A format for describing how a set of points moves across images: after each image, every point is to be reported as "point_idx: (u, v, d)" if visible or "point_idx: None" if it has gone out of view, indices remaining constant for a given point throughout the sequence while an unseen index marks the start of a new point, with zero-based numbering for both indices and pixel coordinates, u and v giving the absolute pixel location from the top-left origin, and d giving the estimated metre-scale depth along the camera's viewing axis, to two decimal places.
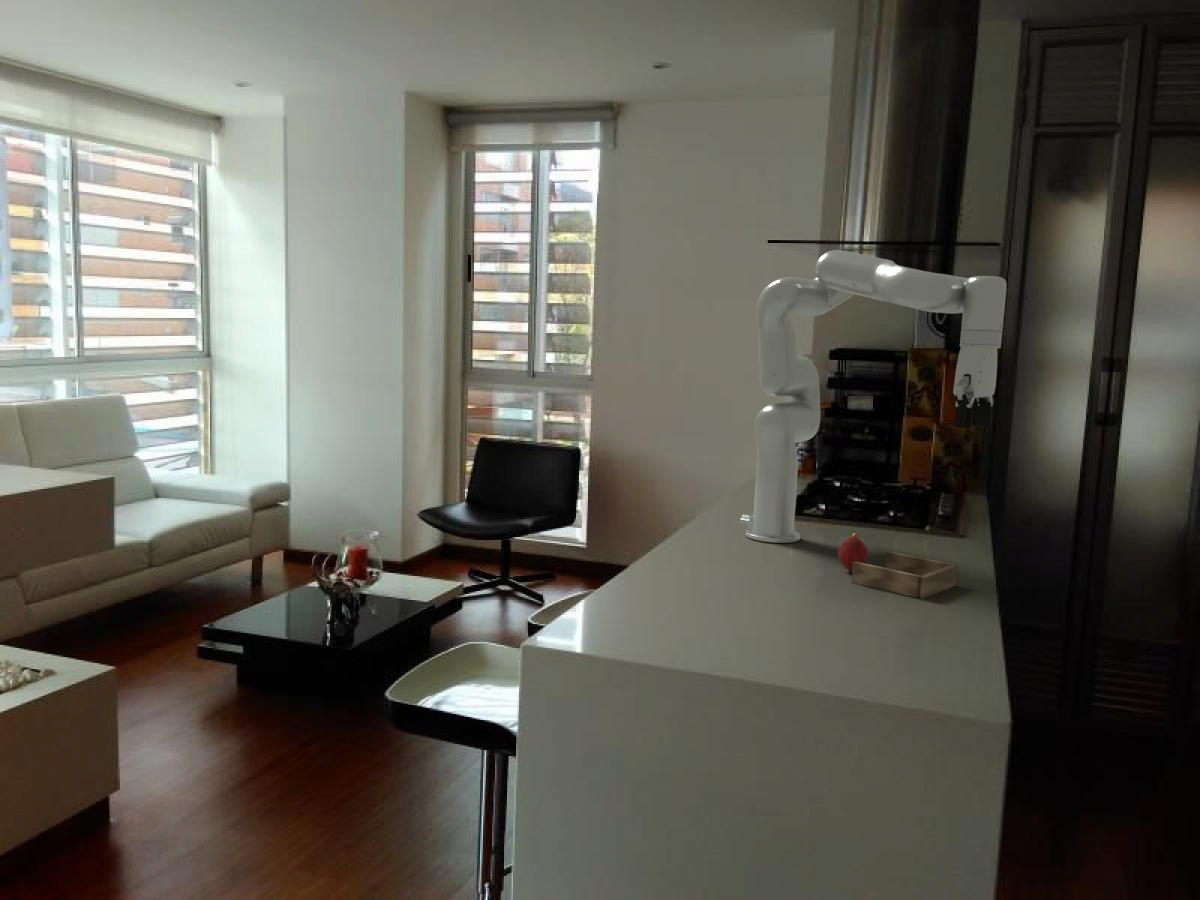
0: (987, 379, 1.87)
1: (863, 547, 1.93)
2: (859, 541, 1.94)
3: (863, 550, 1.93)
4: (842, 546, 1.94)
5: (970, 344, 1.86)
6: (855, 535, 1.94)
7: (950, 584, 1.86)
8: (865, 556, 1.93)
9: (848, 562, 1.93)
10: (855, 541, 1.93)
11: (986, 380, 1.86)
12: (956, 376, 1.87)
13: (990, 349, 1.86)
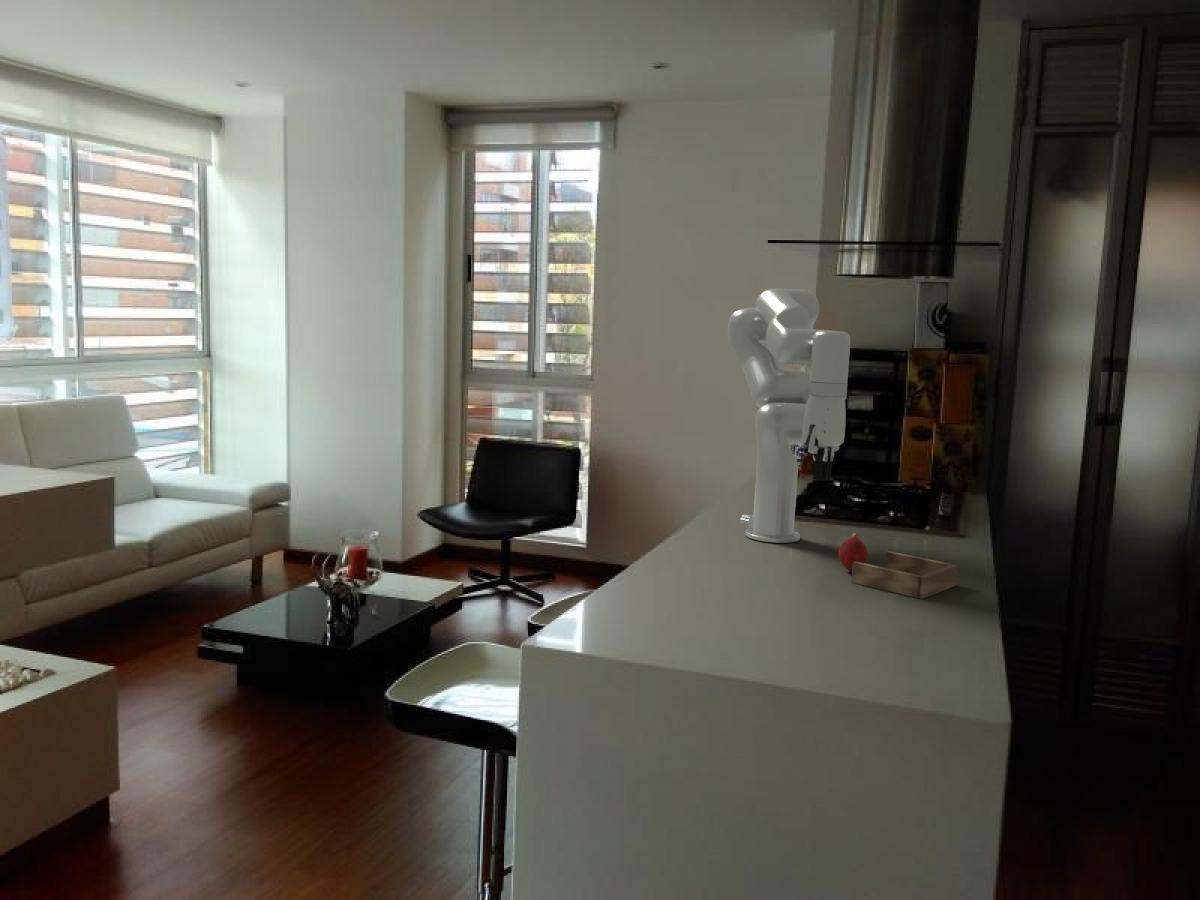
0: (833, 429, 1.95)
1: (863, 547, 1.93)
2: (859, 541, 1.94)
3: (863, 550, 1.93)
4: (842, 546, 1.94)
5: (816, 396, 1.94)
6: (855, 535, 1.94)
7: (950, 584, 1.86)
8: (865, 556, 1.93)
9: (848, 562, 1.93)
10: (855, 541, 1.93)
11: (831, 429, 1.95)
12: (803, 426, 1.95)
13: (835, 400, 1.94)
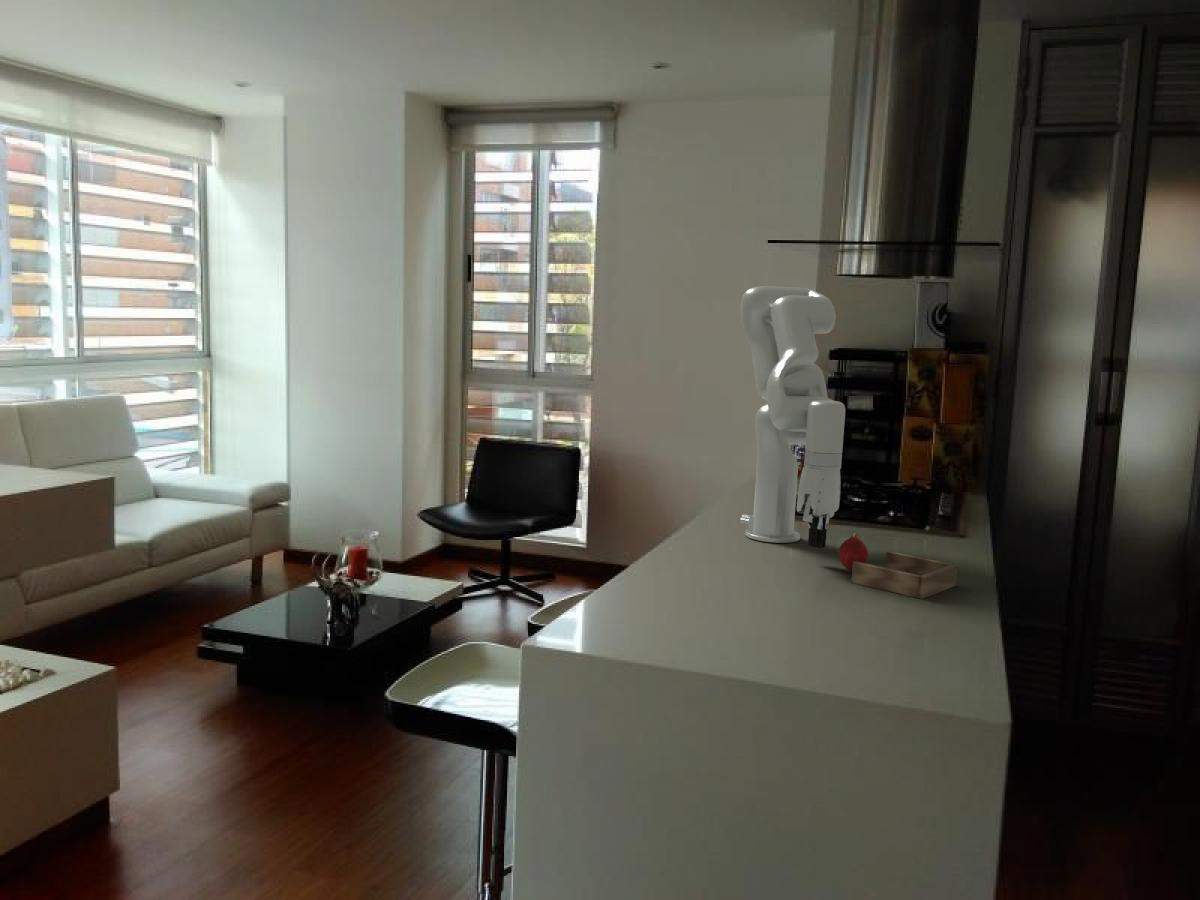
0: (828, 498, 1.97)
1: (863, 547, 1.93)
2: (859, 541, 1.94)
3: (863, 550, 1.93)
4: (842, 546, 1.94)
5: (811, 465, 1.96)
6: (855, 535, 1.94)
7: (950, 584, 1.86)
8: (865, 556, 1.93)
9: (848, 562, 1.93)
10: (855, 541, 1.93)
11: (826, 498, 1.97)
12: (798, 495, 1.97)
13: (830, 470, 1.96)
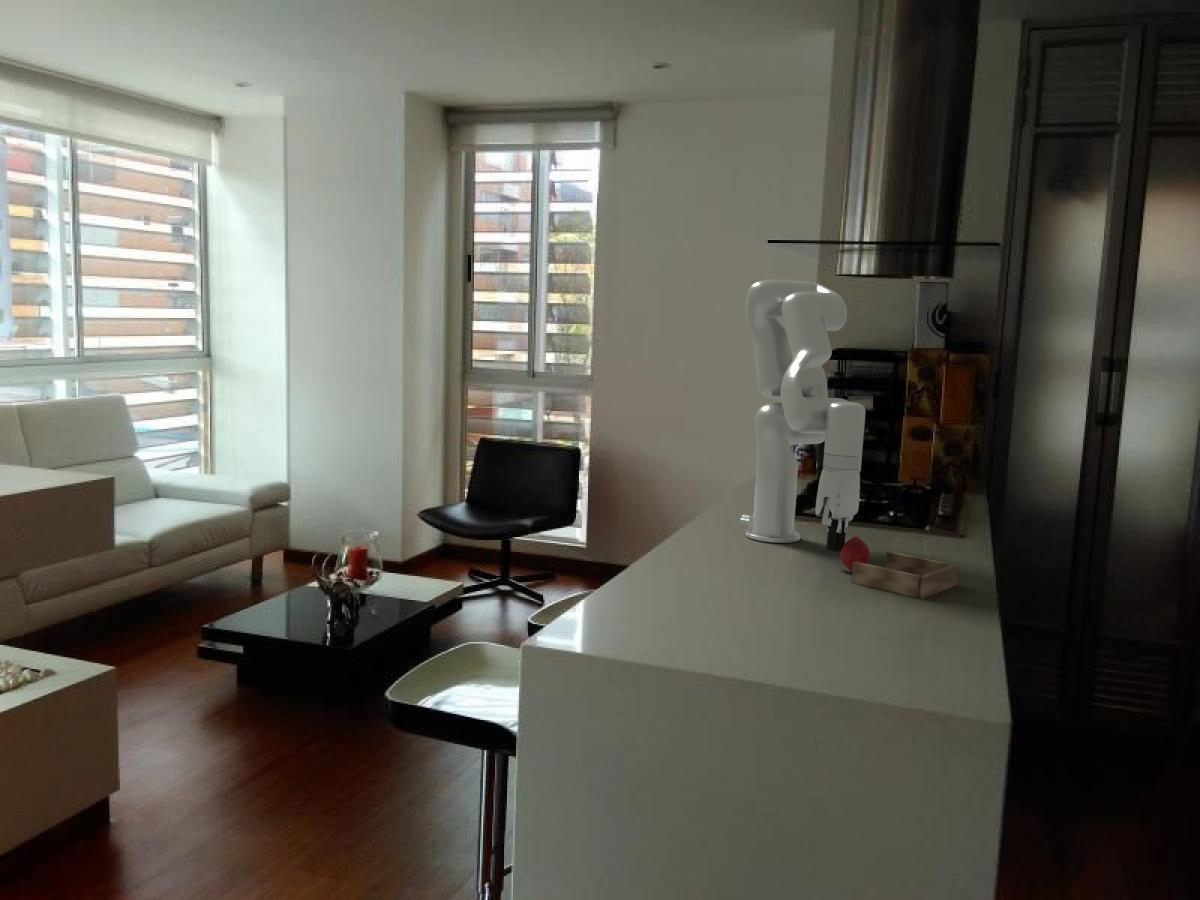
0: (847, 501, 1.94)
1: (865, 548, 1.93)
2: (861, 541, 1.93)
3: (865, 551, 1.92)
4: (844, 546, 1.94)
5: (830, 468, 1.93)
6: (857, 535, 1.94)
7: (950, 584, 1.86)
8: (867, 556, 1.93)
9: (850, 562, 1.93)
10: (857, 542, 1.93)
11: (845, 502, 1.94)
12: (817, 498, 1.94)
13: (849, 473, 1.93)
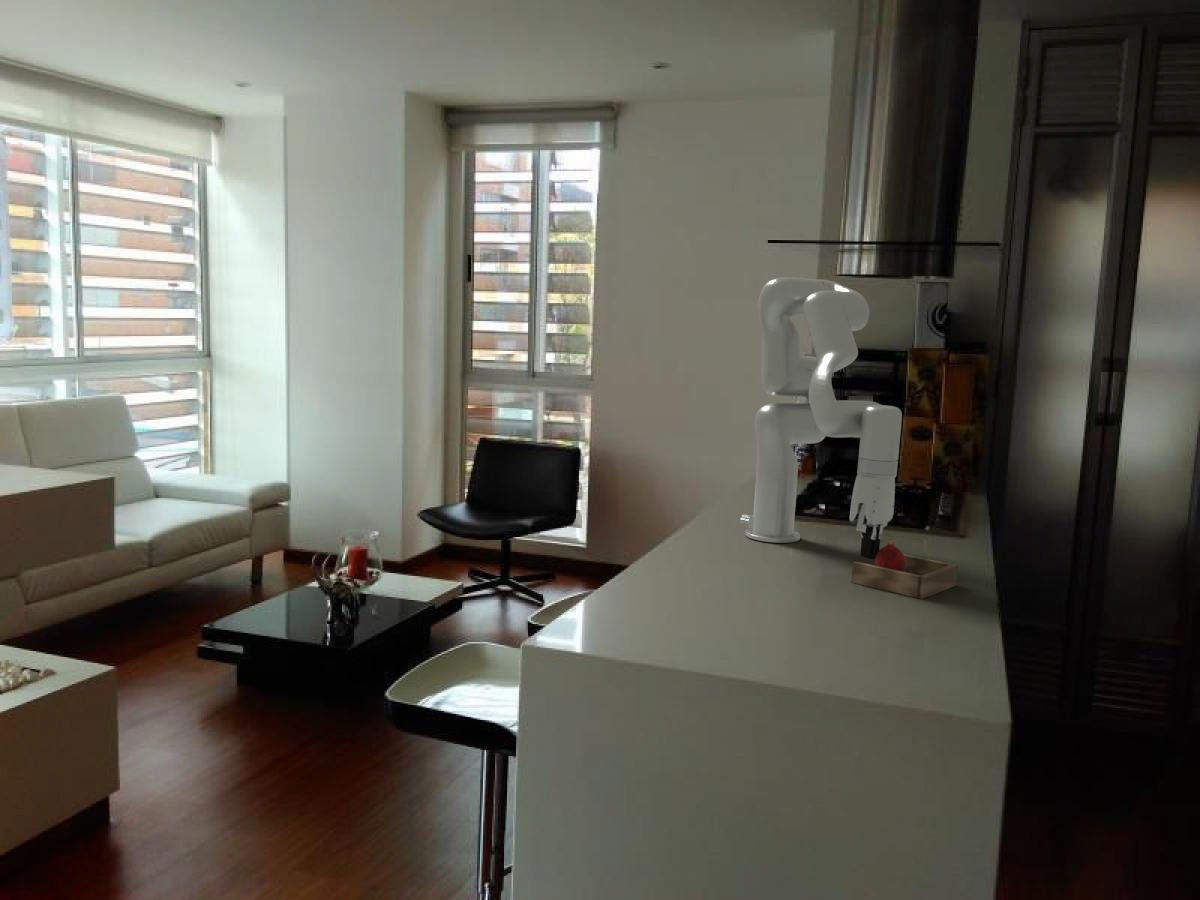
0: (882, 507, 1.89)
1: (900, 555, 1.88)
2: (896, 549, 1.88)
3: (900, 558, 1.87)
4: (878, 554, 1.89)
5: (865, 473, 1.88)
6: (892, 543, 1.89)
7: (950, 584, 1.86)
8: (902, 564, 1.87)
9: None
10: (891, 549, 1.88)
11: (881, 508, 1.88)
12: (852, 504, 1.89)
13: (885, 478, 1.88)
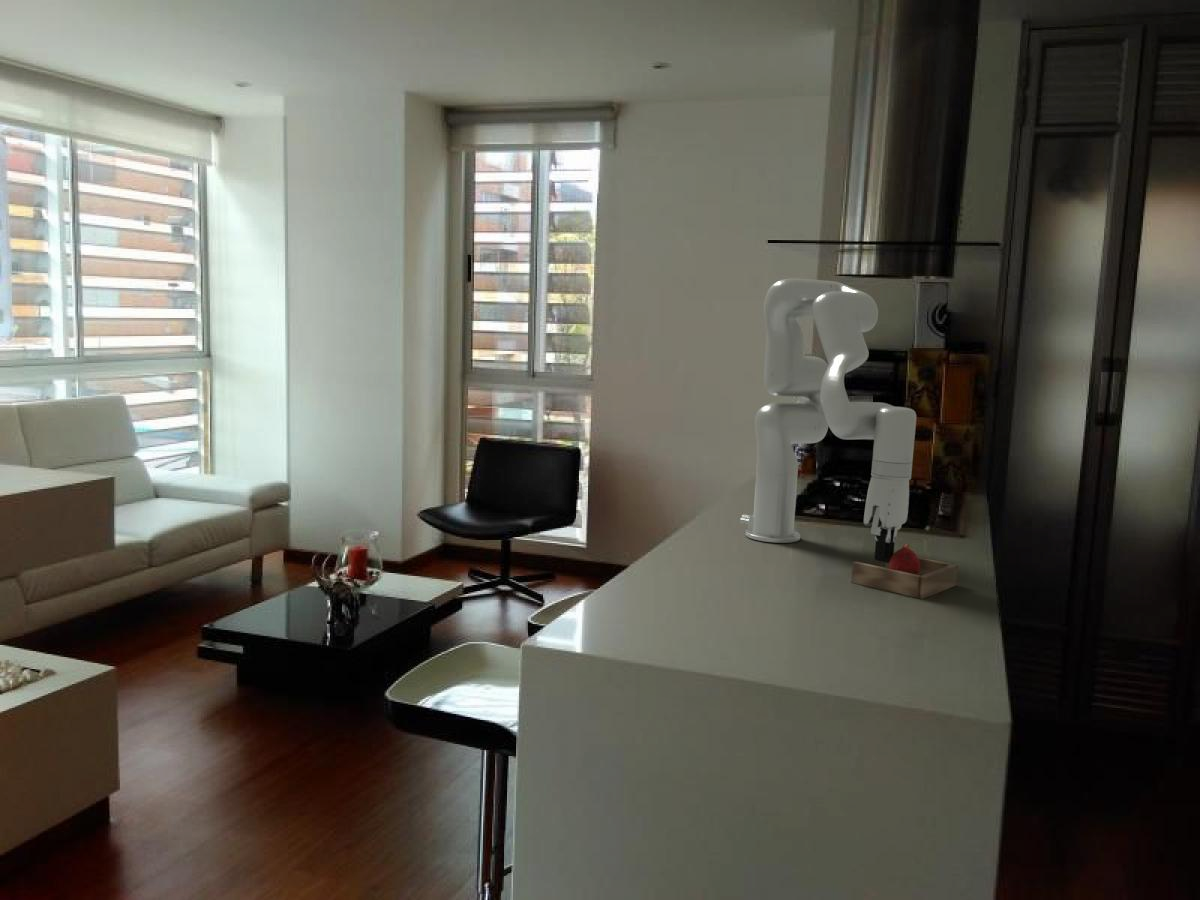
0: (897, 510, 1.87)
1: (915, 559, 1.85)
2: (911, 552, 1.86)
3: (915, 562, 1.85)
4: (893, 557, 1.87)
5: (880, 475, 1.86)
6: (907, 546, 1.87)
7: (950, 584, 1.86)
8: (917, 568, 1.85)
9: None
10: (906, 552, 1.86)
11: (895, 510, 1.86)
12: (866, 506, 1.87)
13: (900, 480, 1.86)
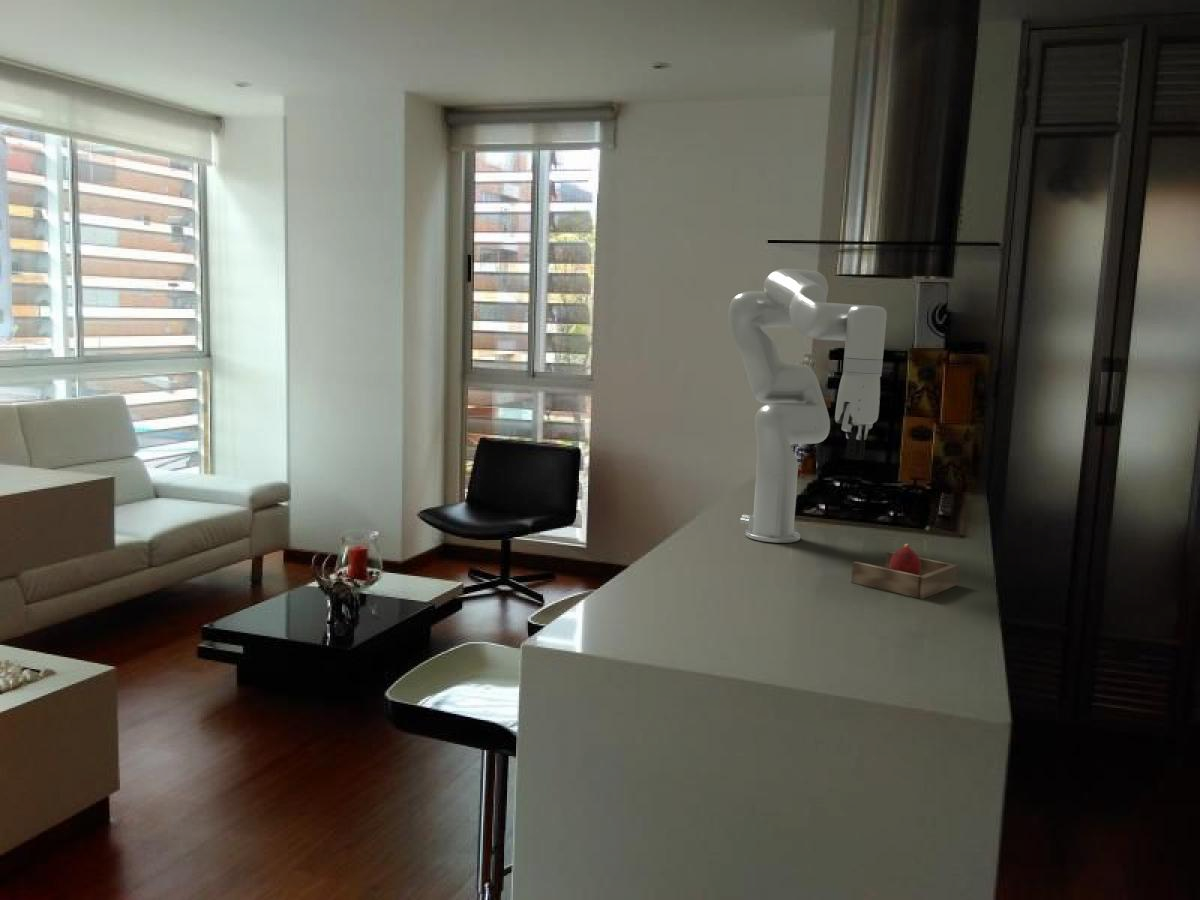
0: (867, 407, 1.90)
1: (915, 559, 1.85)
2: (911, 552, 1.86)
3: (915, 562, 1.85)
4: (893, 557, 1.87)
5: (850, 372, 1.89)
6: (907, 546, 1.87)
7: (950, 584, 1.86)
8: (918, 568, 1.85)
9: None
10: (907, 552, 1.86)
11: (866, 407, 1.90)
12: (837, 403, 1.90)
13: (870, 377, 1.89)
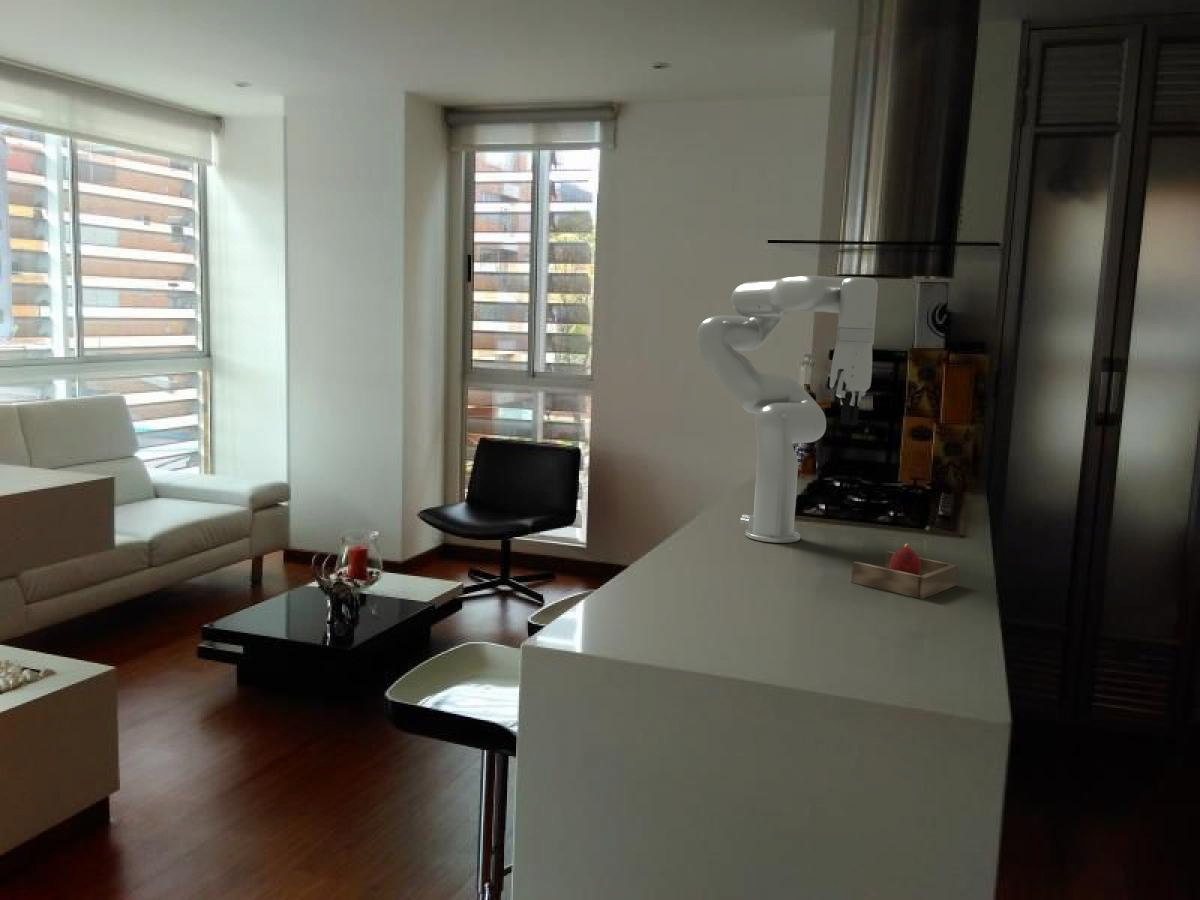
0: (860, 374, 2.00)
1: (915, 558, 1.85)
2: (911, 552, 1.86)
3: (915, 562, 1.85)
4: (893, 557, 1.87)
5: (844, 341, 1.99)
6: (907, 546, 1.87)
7: (950, 584, 1.86)
8: (917, 568, 1.85)
9: None
10: (907, 552, 1.86)
11: (859, 374, 1.99)
12: (831, 371, 2.00)
13: (863, 346, 1.99)
